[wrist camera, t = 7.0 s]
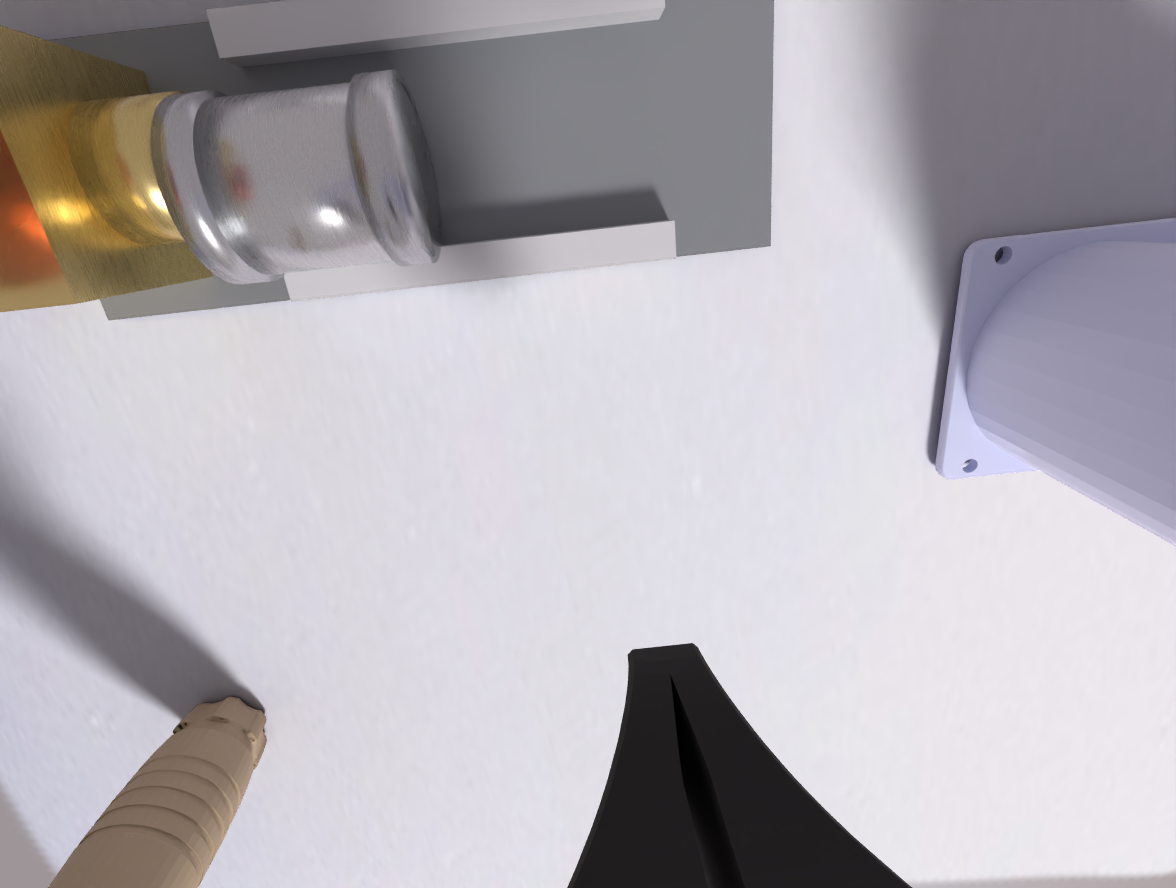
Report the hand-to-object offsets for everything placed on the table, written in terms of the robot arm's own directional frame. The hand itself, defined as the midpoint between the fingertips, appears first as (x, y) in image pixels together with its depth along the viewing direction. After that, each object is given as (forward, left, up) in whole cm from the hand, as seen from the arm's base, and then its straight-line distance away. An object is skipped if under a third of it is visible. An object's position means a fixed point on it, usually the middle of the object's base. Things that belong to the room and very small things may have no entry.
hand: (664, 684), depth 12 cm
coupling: (+7, -11, -9) cm, 16 cm away
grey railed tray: (+5, -11, -9) cm, 15 cm away
